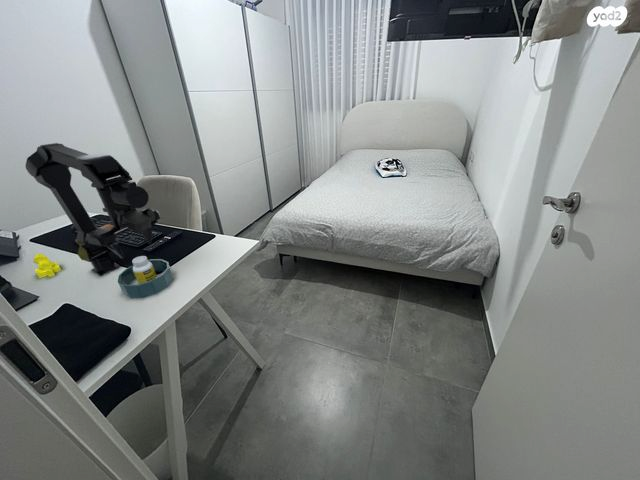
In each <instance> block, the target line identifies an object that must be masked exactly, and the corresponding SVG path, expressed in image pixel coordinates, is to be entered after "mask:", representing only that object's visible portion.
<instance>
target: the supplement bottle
mask: <svg viewBox="0 0 640 480" xmlns="http://www.w3.org/2000/svg"><path fill="white" fill-rule="evenodd" d="M148 260H149V259H148V257H147V256H146V255H140V256H136V257H134V258H133V259H132V261H131V262H132V265H134V266H133V272H134V274H135V276H136V281H137V284H141V283H144V282H148V281H151V280H153V279H155V278H156V277H158V275H157V272H155V270H154V268H153V265H152V263H151V262H149V261H148Z"/></svg>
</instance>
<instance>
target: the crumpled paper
mask: <svg viewBox="0 0 640 480" xmlns="http://www.w3.org/2000/svg"><path fill="white" fill-rule="evenodd" d="M33 263H34V264H36V265H37V268H36V269H34V271H35V274H36V275H37V277H38V278H39V279H42V278H44V277H48V278H52V277H55V276H56V274H55V273H57V272H61V271H62V269H61V266H60V265H59V263H58V262H57V261H52V260H50V259H49V257H48V256H47V255H44V254H42V253H38V252H37V253H36V254H35V256H34V258H33Z"/></svg>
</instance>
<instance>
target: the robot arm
mask: <svg viewBox="0 0 640 480" xmlns="http://www.w3.org/2000/svg"><path fill="white" fill-rule="evenodd" d="M70 168H72V169H75V170H76V171H77V170H78V171H79V172H80V173H81V176H82V177H84V178H85V179H87V180H88V181H89V182H91V184H90V187H92V188H95V189H96V192H97V194H98V196H99V198H100V200H101V203H102V204H103V207H102V211H103V213H107V215H108V217H109V219H110V220H109V221H108V224H110V225H113V226H114V227H112V228H110V229H102V228H100V227H97V226H96V225H95V223H94V221H93V220H92V218H91V217H90V215H89V213H88V212H87V210H86V208H85V206H84V205H83V203H82V202H81V200H80V198H79V196H78V195H77V194H76V192H75V190H74V189H73V187H72V184H71V183H72V177H73V176H72V175H73V174H72V173H71V170H70ZM25 169H26V171H27V173H28V174H29V175H30V177H33V179H34V180H35V181H36V182H37V183H38V184H40V185H42V186H44V187H46V188H47V189H49V190H50V192H51V193H52V194H53V196H54V197H55V199H56V200H57V202H58V204H59V205H60V207H61V208H62V209H63V212H64V213H65V214H66V216H67V217H68V219H69V220H70V222H71V224H72V225H73V227H74V228H75V230H76V231H77V233H76V234H77V236H76V239H77V243H78V244H77V243H76V244H77V245H78V246H79V247H78V251H77V256H78V257H79V258H80V260H81V261H85V262H88V263H91V265H92V267H93V268H92V269H91V272H92V273H94V274H96V275H97V276H98V277H99V276H104V275H105V274H108V273H110V272H112V271H114V270H116V269H119V268H120V267H121V266H120V265H119V264H118V263H116V262H114V260H113V258H112V256H111V254H110V253H111V252H112V253H114V254H115V255H117V256H118V257H119V258H120V259H125V255H124V252H123V250H122V248H121V247H120V245H119V242H120V240H119V239H117V235H116V234H119V233H121V232H123V231H125V230H128V229H130V230H131V231H132V232H134V233H138V234H139V233H142V235H143V237H144V239H145V240H146V242H147V244H152V241H153V229H154V226H155V225H156V224H157V223H159V220H161V219H162V218H161V215H160V212H159V211H158V210H156V209H151V208H150V207H148V208H144V207H145V206H146V205H147V204H148V203H149V199H150V198H149V193H148V191H147V190H146V189H145V188H144V187H142V186H138V185H137V182H136V181H135V180H134V181H133V177H132V176H131V175H130V173H129V172H128V170H126V168H125V167H123V166H122V164H121V163H120V162H119V161H118V159H115V157H114V156H112V155H111V154H104V153H103V154H102V153H101V154H100V153H99V154H89V153H86V152H83V151H80V150H77V149H74V148H71V147H68V146H66V145H64V144H63V143H58V142H54V143H53V142H52V143H46V144H40V145H39V146H37V147H36V151H34V152H33V153H32V154H31V155H29V156H28V157H27V158H26V162H25ZM141 208H144V209H141ZM137 209H141V210H139V211H138V210H137Z"/></svg>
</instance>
